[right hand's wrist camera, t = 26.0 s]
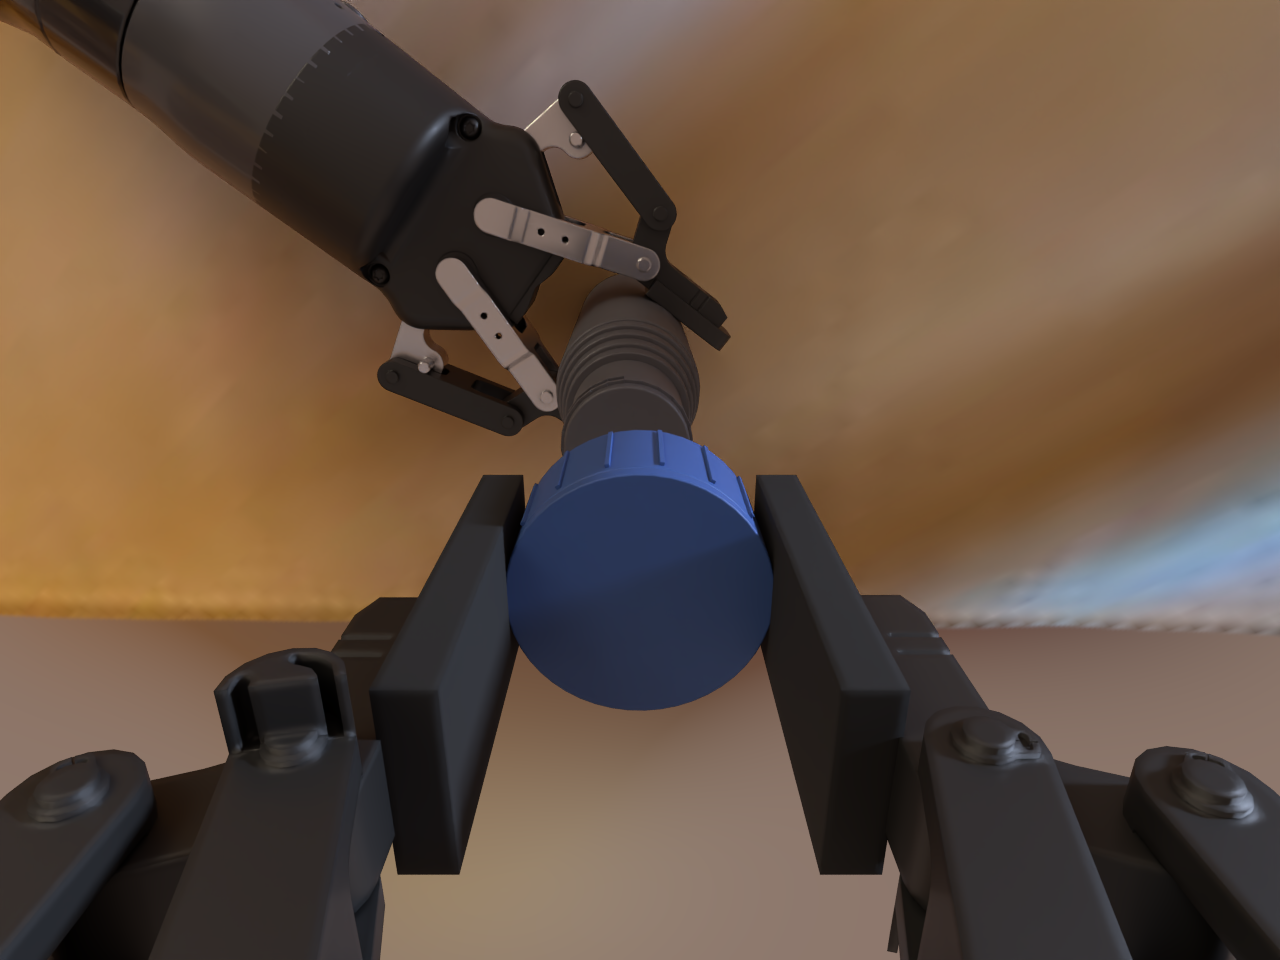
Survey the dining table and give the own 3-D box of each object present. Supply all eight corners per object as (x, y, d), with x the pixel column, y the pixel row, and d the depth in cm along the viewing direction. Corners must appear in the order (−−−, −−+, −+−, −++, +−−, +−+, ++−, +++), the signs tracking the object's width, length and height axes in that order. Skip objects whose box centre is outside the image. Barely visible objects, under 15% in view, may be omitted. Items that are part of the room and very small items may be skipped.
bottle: (570, 283, 36) (515, 375, 19) (669, 264, 36) (704, 341, 19) (590, 379, 38) (557, 544, 21) (685, 362, 38) (730, 515, 20)
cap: (704, 665, 16) (714, 741, 14) (494, 599, 15) (470, 668, 13) (795, 475, 14) (822, 526, 12) (565, 393, 14) (551, 432, 12)
